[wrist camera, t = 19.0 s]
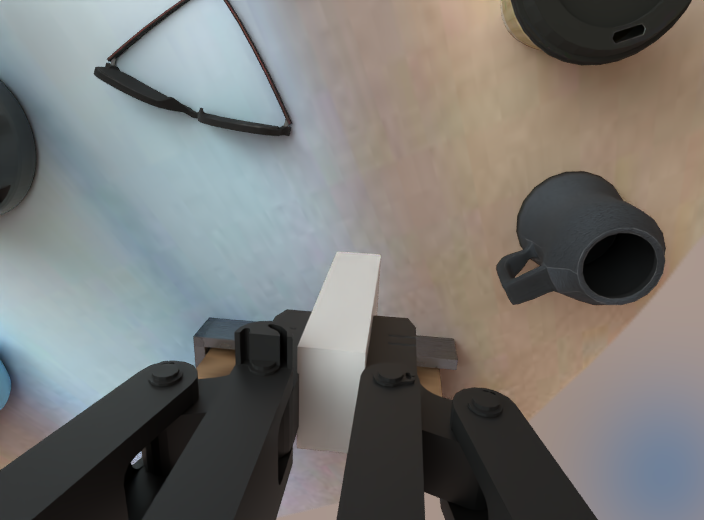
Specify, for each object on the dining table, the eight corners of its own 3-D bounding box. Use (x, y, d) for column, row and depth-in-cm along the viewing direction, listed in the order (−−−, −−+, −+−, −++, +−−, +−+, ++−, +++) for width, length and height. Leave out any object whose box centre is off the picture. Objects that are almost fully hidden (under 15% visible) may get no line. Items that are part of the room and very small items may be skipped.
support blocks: (390, 410, 52) (389, 436, 49) (397, 333, 49) (396, 354, 46) (444, 416, 52) (447, 442, 48) (453, 338, 49) (457, 360, 45)
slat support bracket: (213, 393, 54) (199, 416, 50) (209, 317, 51) (193, 336, 47) (282, 400, 53) (272, 424, 50) (282, 324, 50) (271, 343, 47)
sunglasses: (336, -27, 40) (326, -42, 35) (287, 148, 45) (273, 156, 40) (134, -99, 40) (97, -124, 35) (107, 85, 45) (72, 85, 40)
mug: (602, 151, 42) (667, 174, 31) (640, 244, 44) (713, 295, 34) (468, 217, 45) (487, 258, 34) (511, 300, 47) (540, 364, 37)
